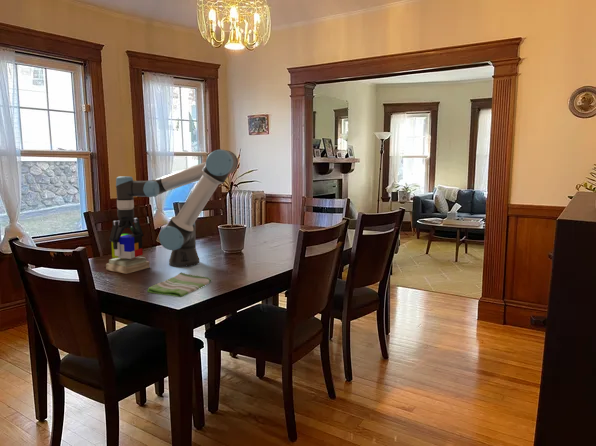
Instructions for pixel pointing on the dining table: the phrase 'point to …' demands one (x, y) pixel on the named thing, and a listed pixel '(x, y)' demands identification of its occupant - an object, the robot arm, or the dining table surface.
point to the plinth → (127, 269)
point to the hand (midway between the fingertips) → (127, 253)
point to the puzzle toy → (129, 246)
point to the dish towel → (180, 285)
